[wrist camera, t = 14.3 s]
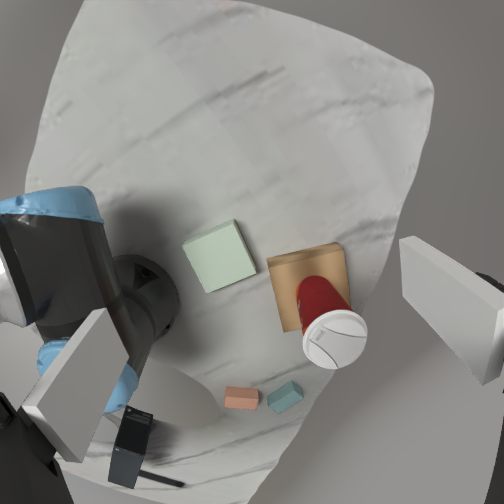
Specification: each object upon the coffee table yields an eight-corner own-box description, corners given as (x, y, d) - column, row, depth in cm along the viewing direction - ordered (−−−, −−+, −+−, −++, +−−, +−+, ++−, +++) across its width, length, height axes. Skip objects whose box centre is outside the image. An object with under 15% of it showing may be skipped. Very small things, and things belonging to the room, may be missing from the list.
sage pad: (208, 285, 51) (206, 293, 48) (185, 240, 48) (181, 246, 45) (255, 265, 50) (256, 273, 47) (233, 218, 47) (233, 223, 45)
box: (143, 453, 65) (133, 490, 53) (117, 444, 64) (105, 480, 52) (156, 415, 60) (144, 457, 48) (126, 404, 59) (110, 445, 48)
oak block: (280, 319, 53) (283, 332, 49) (266, 258, 49) (268, 268, 46) (344, 303, 52) (351, 315, 49) (336, 241, 49) (343, 249, 45)
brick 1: (224, 396, 58) (224, 407, 55) (226, 385, 57) (225, 396, 55) (255, 399, 59) (256, 410, 56) (257, 388, 58) (258, 399, 55)
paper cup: (277, 300, 47) (290, 357, 34) (308, 258, 45) (334, 303, 32) (318, 323, 49) (342, 381, 35) (349, 285, 47) (384, 334, 34)
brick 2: (277, 403, 59) (278, 413, 56) (267, 395, 58) (268, 406, 56) (301, 387, 58) (303, 398, 55) (291, 379, 57) (293, 390, 54)
